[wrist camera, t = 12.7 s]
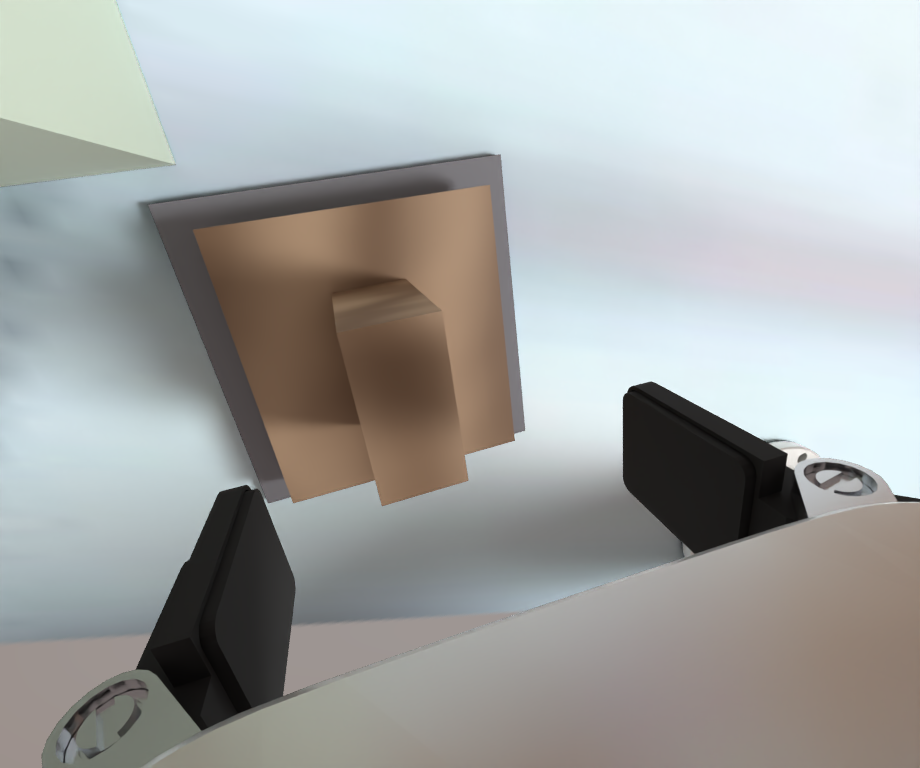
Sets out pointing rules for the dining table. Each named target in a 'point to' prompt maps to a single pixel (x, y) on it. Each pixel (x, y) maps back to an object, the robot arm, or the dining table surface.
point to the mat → (299, 198)
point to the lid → (370, 338)
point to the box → (72, 94)
